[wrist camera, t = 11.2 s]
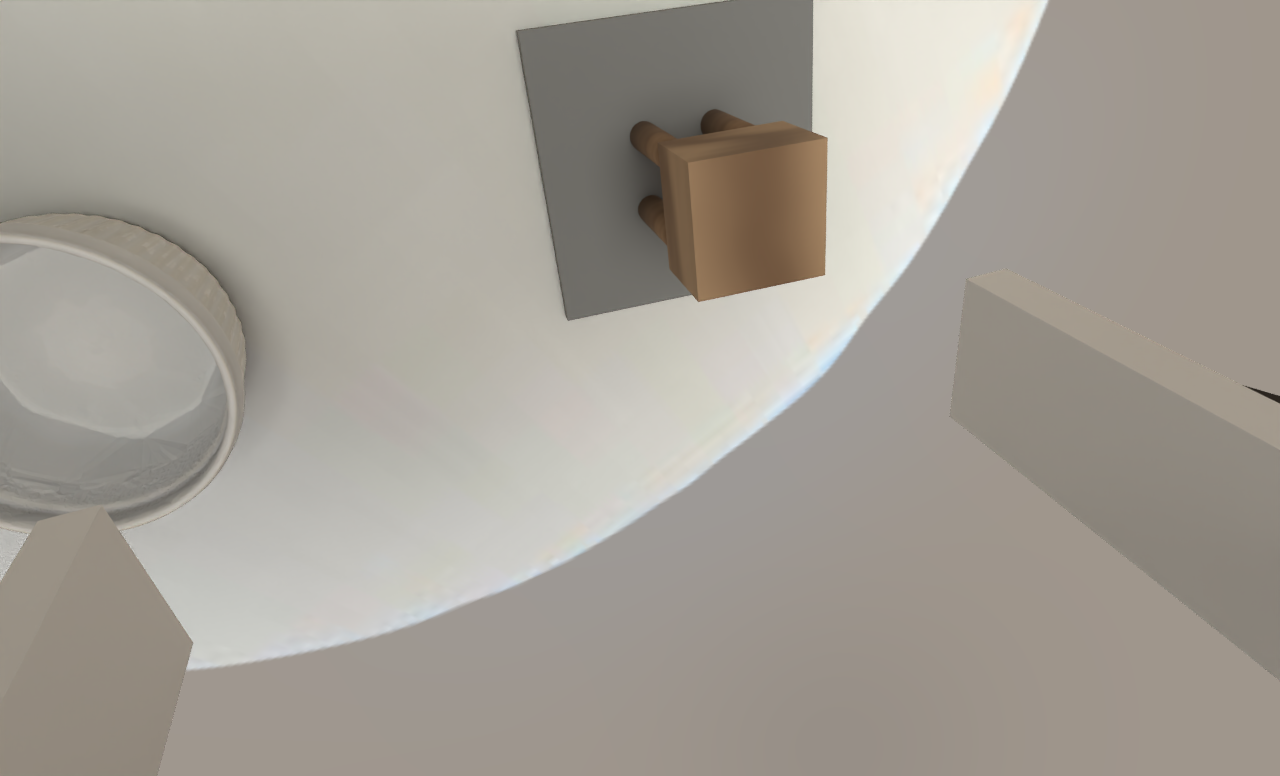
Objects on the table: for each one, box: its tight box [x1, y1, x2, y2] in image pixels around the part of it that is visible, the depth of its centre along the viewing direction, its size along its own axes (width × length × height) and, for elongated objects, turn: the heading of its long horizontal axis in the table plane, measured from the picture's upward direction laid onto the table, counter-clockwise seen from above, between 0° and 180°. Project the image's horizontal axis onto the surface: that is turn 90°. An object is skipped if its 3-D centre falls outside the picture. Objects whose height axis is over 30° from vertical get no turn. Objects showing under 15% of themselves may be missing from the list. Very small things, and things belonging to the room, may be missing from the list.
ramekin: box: [0, 213, 246, 534], centre depth 32 cm, size 13×13×7 cm
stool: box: [630, 109, 827, 302], centre depth 33 cm, size 6×6×10 cm
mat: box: [516, 0, 813, 321], centre depth 38 cm, size 14×14×1 cm
